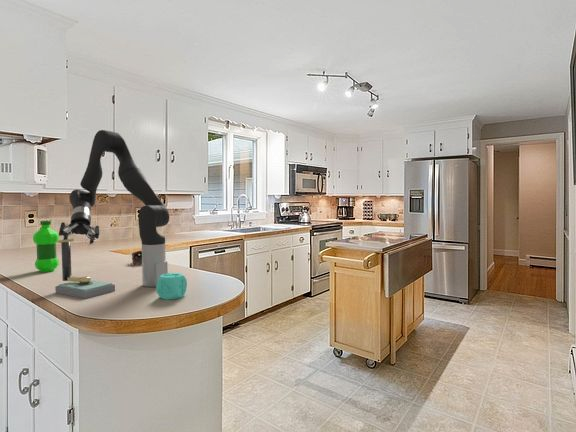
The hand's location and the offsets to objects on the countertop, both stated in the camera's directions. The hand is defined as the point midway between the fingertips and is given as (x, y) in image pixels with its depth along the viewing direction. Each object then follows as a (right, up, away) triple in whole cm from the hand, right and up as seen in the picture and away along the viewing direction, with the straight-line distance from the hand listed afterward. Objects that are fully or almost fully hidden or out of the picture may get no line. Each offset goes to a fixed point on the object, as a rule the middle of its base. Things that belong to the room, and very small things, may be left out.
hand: (78, 241), depth 139 cm
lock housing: (+6, -19, -5) cm, 21 cm away
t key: (+2, -15, -4) cm, 16 cm away
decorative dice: (+42, -20, -12) cm, 48 cm away
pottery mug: (+2, -17, +53) cm, 56 cm away
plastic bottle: (-36, -17, +33) cm, 52 cm away
